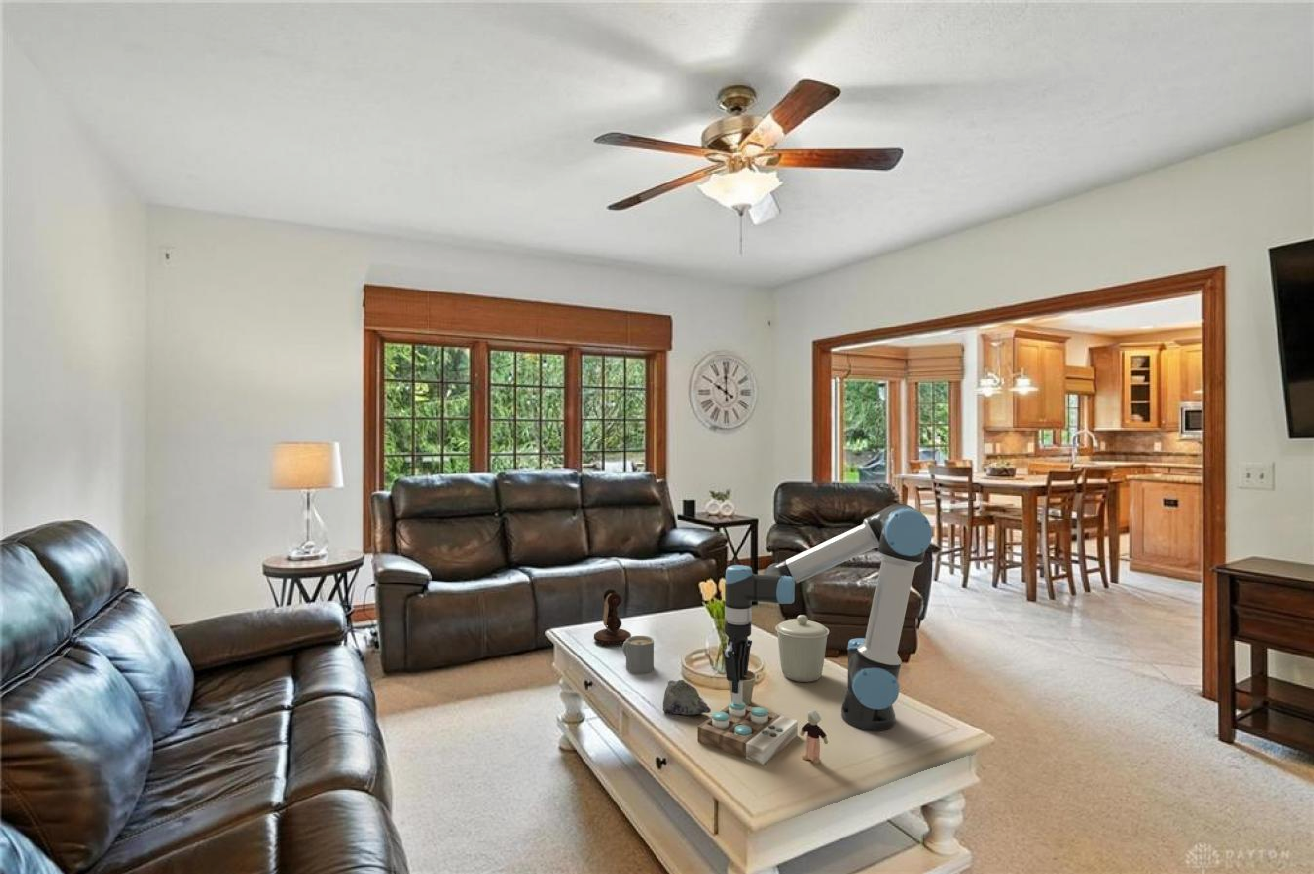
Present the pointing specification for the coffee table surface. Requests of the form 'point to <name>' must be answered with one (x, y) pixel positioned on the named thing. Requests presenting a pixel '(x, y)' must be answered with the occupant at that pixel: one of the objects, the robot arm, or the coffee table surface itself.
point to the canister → (802, 648)
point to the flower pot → (746, 687)
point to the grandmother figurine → (813, 737)
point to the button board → (756, 746)
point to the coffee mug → (639, 654)
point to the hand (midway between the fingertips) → (736, 702)
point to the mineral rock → (683, 699)
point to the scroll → (611, 621)
